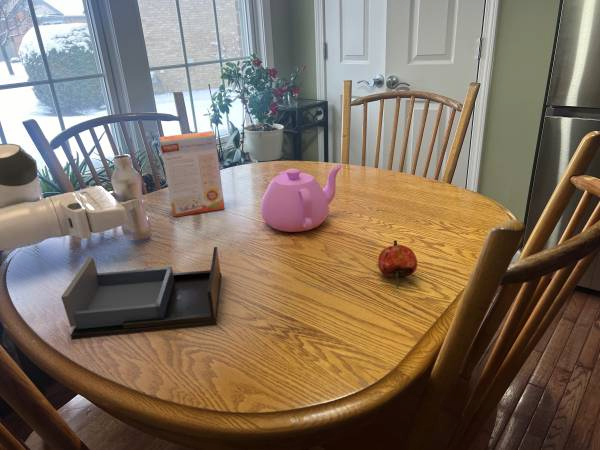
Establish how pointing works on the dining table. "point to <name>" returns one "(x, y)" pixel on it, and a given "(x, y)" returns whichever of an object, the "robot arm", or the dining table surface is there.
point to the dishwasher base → (176, 305)
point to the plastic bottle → (130, 197)
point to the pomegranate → (397, 261)
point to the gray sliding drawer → (116, 296)
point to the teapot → (297, 200)
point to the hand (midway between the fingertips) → (134, 197)
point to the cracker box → (192, 173)
